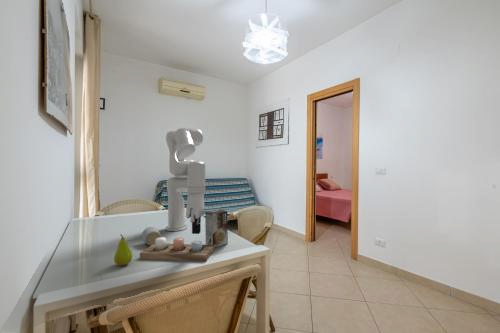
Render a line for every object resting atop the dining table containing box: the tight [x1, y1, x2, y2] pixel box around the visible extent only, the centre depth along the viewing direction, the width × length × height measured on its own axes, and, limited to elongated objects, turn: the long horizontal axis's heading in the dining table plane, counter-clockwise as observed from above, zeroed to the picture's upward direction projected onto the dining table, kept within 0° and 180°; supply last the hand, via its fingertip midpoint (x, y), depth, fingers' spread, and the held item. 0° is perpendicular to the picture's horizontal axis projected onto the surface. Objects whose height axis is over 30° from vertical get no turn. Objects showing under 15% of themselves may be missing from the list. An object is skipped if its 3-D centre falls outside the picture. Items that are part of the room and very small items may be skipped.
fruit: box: [113, 233, 133, 267], centre depth 88 cm, size 6×6×12 cm
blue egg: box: [190, 240, 203, 252], centre depth 97 cm, size 4×4×4 cm
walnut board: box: [139, 242, 215, 262], centre depth 98 cm, size 12×28×2 cm, turn 84°
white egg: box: [155, 236, 167, 250], centre depth 99 cm, size 4×4×4 cm
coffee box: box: [204, 209, 229, 249], centre depth 111 cm, size 9×6×16 cm
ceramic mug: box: [141, 226, 163, 247], centre depth 113 cm, size 11×8×8 cm
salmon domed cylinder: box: [172, 237, 185, 250], centre depth 98 cm, size 4×4×4 cm
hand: (196, 233), depth 98 cm, fingers closed
